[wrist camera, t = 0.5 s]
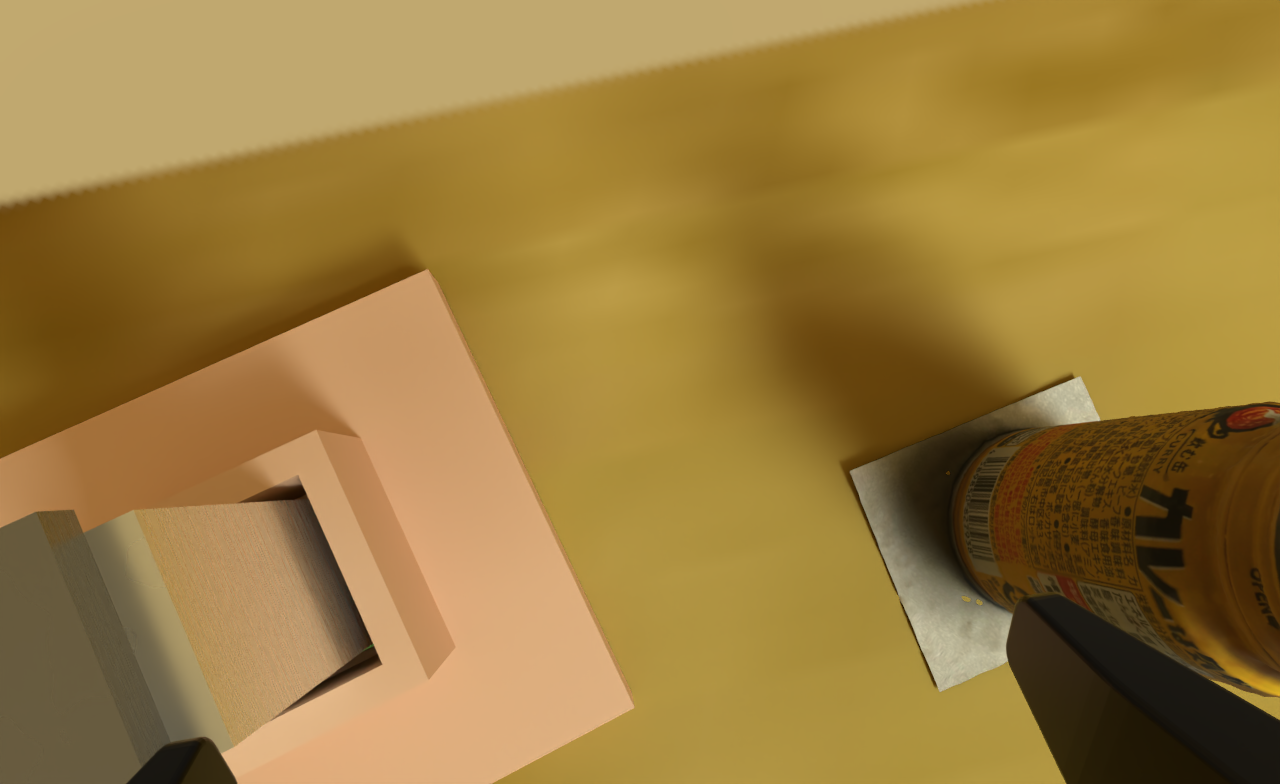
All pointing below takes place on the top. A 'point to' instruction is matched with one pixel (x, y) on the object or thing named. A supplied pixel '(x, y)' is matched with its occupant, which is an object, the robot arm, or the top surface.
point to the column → (161, 632)
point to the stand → (370, 539)
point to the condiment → (1090, 531)
